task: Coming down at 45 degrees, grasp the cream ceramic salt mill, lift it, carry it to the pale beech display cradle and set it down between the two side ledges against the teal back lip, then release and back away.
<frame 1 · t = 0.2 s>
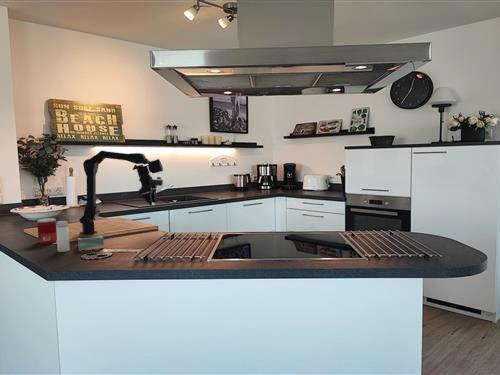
hand: (152, 203, 201), 15 cm above the countertop, tool pointing down, fingers open, 9 cm apart
stand: (90, 247, 171), on the countertop
canned food: (47, 242, 181), on the countertop
mill: (63, 250, 166), on the countertop
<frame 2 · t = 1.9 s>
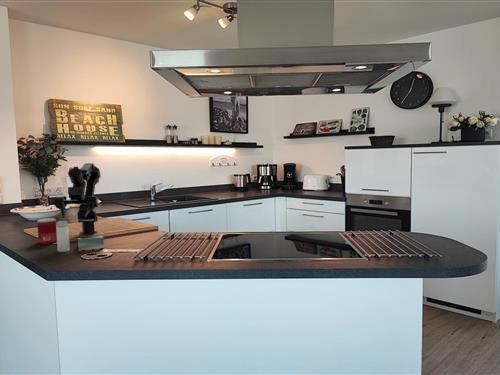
hand: (73, 217, 172), 14 cm above the countertop, tool tilted 45°, fingers open, 9 cm apart
nothing on the countertop moved.
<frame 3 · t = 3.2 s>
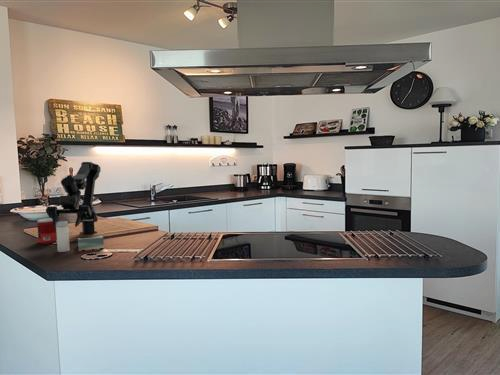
hand: (64, 226, 167), 10 cm above the countertop, tool tilted 45°, fingers open, 9 cm apart
nothing on the countertop moved.
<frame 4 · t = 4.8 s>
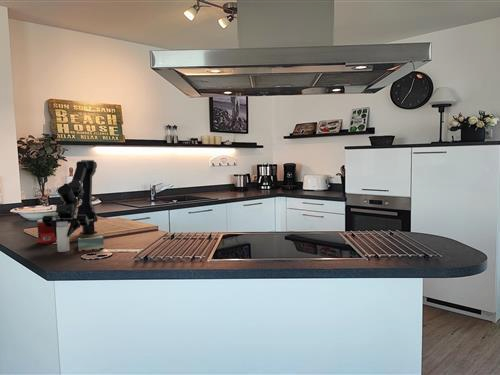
hand: (61, 236, 164), 7 cm above the countertop, tool tilted 45°, fingers closed on mill, 5 cm apart
mill: (63, 250, 166), on the countertop, touching gripper
everything else where it was.
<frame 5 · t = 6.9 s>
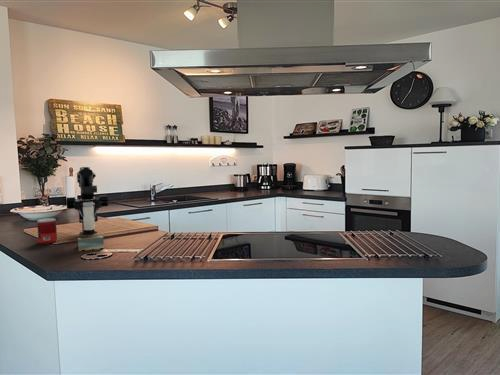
hand: (88, 216, 176), 13 cm above the countertop, tool tilted 45°, fingers closed on mill, 5 cm apart
mill: (89, 229, 178), point 7 cm above the countertop, touching gripper
everything else where it was.
when the fingers open (9 cm above the countertop, at t = 9.1 s): mill drops 1 cm, resting on stand.
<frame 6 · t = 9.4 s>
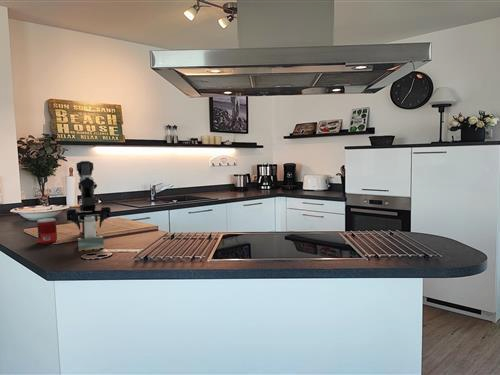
hand: (90, 228, 169), 9 cm above the countertop, tool tilted 45°, fingers open, 8 cm apart
mill: (90, 244, 171), point 1 cm above the countertop, touching stand
everything else where it was.
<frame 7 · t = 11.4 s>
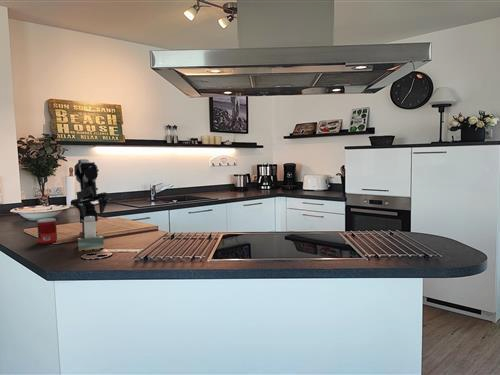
hand: (92, 216, 181), 12 cm above the countertop, tool tilted 20°, fingers open, 9 cm apart
nothing on the countertop moved.
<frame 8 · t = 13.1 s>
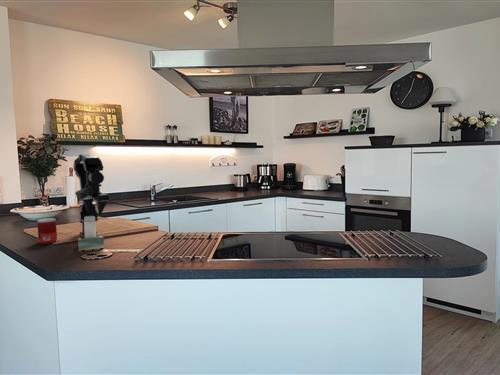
hand: (94, 213, 184), 13 cm above the countertop, tool pointing down, fingers open, 9 cm apart
nothing on the countertop moved.
at the end: mill 0.1 cm off-centre on the stand, point 1.2 cm above the stand's base; mill tilted 1°; the gripper is holding nothing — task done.
